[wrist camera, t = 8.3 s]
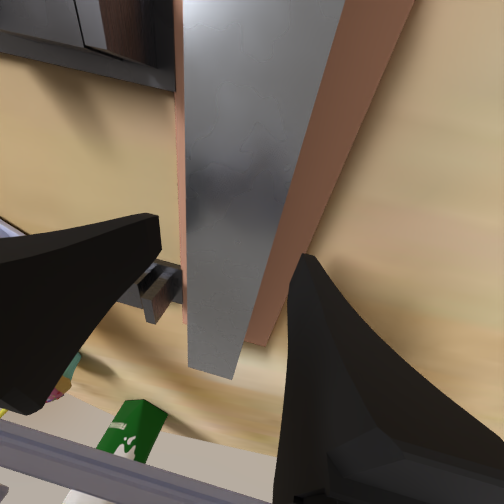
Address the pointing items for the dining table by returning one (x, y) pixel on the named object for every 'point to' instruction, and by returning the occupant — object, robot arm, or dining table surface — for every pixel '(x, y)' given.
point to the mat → (308, 142)
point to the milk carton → (127, 439)
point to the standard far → (155, 290)
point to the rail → (242, 151)
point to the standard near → (95, 37)
